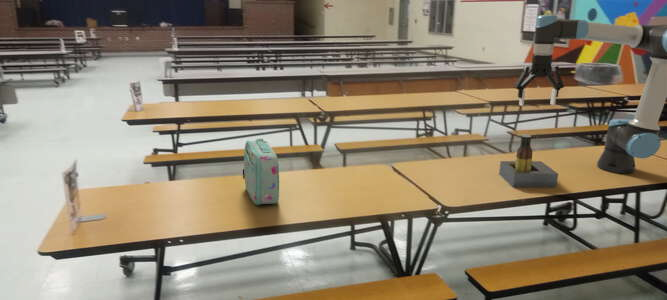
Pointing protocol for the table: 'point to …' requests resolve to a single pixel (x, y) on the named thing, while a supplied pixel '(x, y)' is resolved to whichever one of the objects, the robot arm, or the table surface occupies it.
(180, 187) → the table surface
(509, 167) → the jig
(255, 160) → the lunch box
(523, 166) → the sauce bottle
